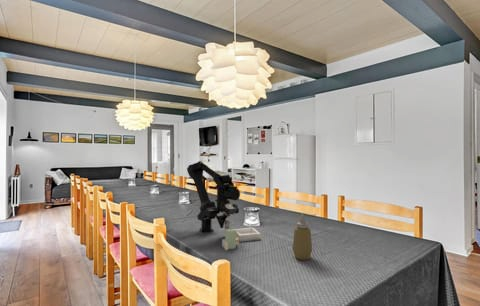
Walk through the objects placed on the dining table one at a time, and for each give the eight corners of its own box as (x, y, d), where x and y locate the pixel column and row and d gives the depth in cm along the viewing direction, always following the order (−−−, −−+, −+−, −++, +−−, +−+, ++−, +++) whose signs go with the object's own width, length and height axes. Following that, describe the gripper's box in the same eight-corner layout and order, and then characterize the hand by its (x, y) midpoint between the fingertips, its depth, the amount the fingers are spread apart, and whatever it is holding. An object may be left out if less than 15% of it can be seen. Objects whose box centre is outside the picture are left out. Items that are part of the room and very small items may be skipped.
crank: (240, 244, 125) (240, 230, 125) (233, 244, 124) (234, 230, 124) (228, 230, 146) (228, 218, 146) (223, 231, 145) (223, 219, 145)
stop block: (224, 246, 127) (225, 229, 127) (233, 245, 128) (233, 228, 128) (227, 249, 123) (227, 231, 123) (235, 248, 124) (235, 230, 124)
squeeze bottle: (297, 262, 109) (298, 217, 109) (289, 254, 117) (289, 212, 117) (315, 260, 111) (316, 216, 111) (306, 253, 119) (306, 211, 119)
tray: (233, 235, 144) (233, 229, 143) (252, 233, 147) (252, 227, 147) (239, 241, 133) (239, 235, 133) (260, 239, 137) (260, 233, 137)
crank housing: (218, 240, 135) (218, 234, 135) (236, 238, 138) (236, 232, 138) (225, 250, 121) (225, 243, 121) (246, 247, 125) (246, 241, 125)
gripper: (216, 201, 130) (216, 234, 129) (246, 198, 142) (245, 228, 142) (203, 198, 138) (203, 229, 138) (232, 195, 150) (231, 224, 150)
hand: (221, 228), depth 142 cm, fingers closed
